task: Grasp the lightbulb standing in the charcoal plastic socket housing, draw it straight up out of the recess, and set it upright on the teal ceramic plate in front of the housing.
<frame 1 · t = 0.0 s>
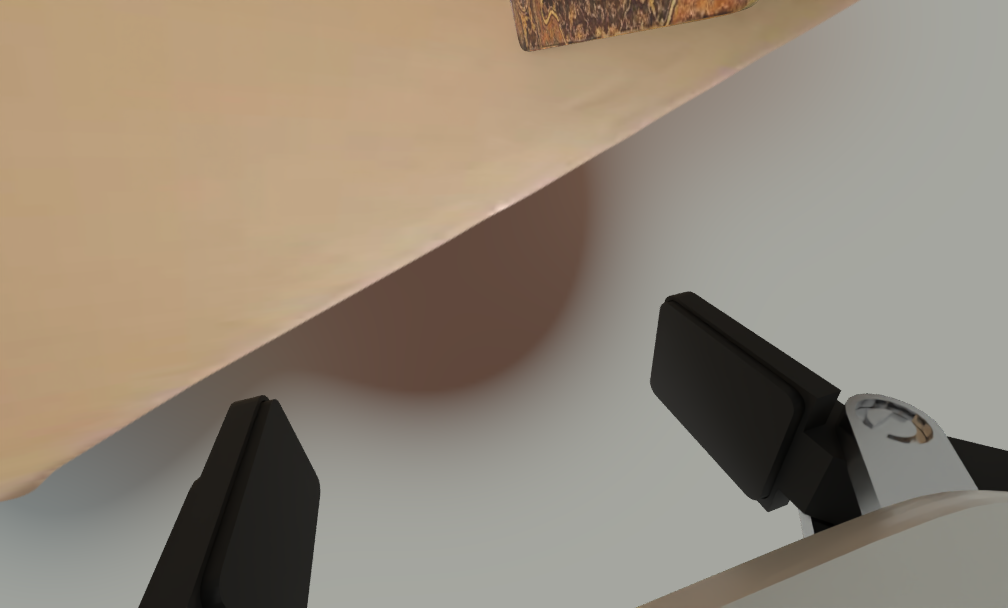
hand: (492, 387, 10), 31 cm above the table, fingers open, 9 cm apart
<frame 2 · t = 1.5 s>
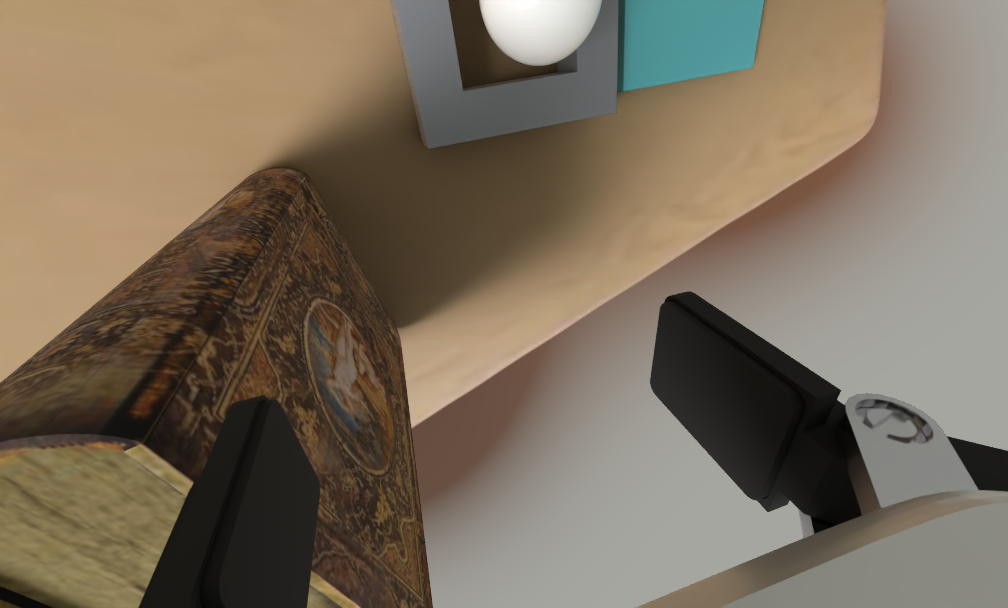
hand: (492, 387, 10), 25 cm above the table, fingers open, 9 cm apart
socket housing: (498, 14, 27), on the table
lightbulb: (498, 14, 27), resting in socket housing
book: (323, 269, 32), on the table
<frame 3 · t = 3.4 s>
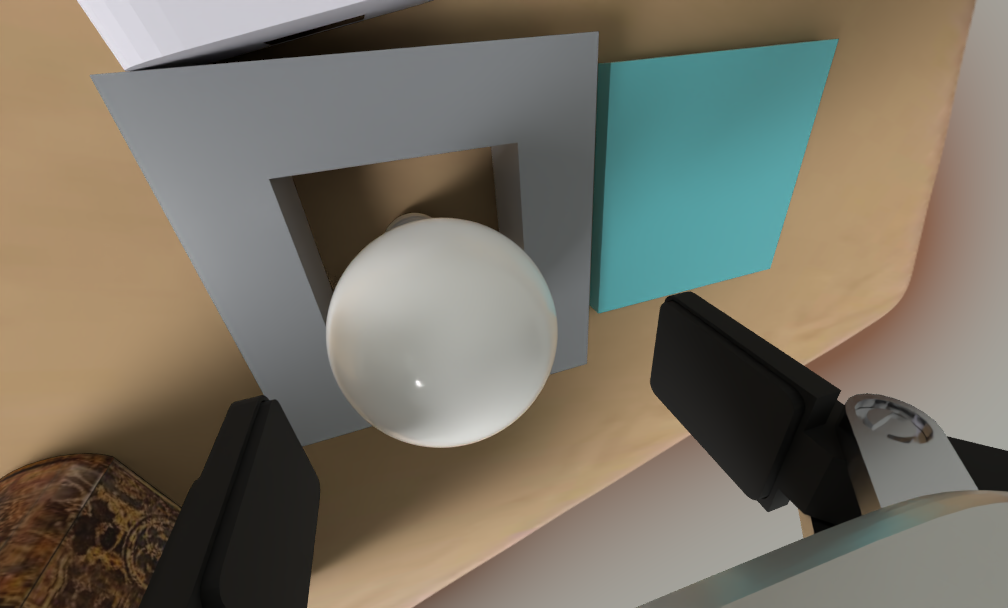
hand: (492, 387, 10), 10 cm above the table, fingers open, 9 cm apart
socket housing: (413, 237, 18), on the table
lightbulb: (412, 236, 18), resting in socket housing
book: (161, 547, 22), on the table
plate: (694, 183, 21), on the table
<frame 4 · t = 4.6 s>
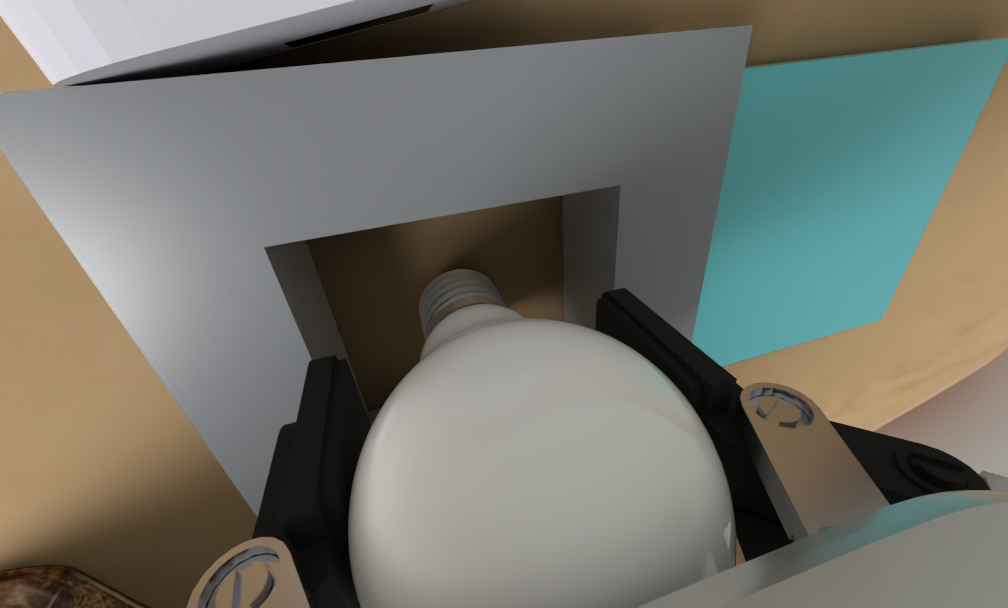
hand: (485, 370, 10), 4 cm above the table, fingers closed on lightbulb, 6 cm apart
socket housing: (456, 296, 14), on the table
lightbulb: (455, 293, 14), resting in socket housing, touching gripper
plate: (804, 221, 17), on the table
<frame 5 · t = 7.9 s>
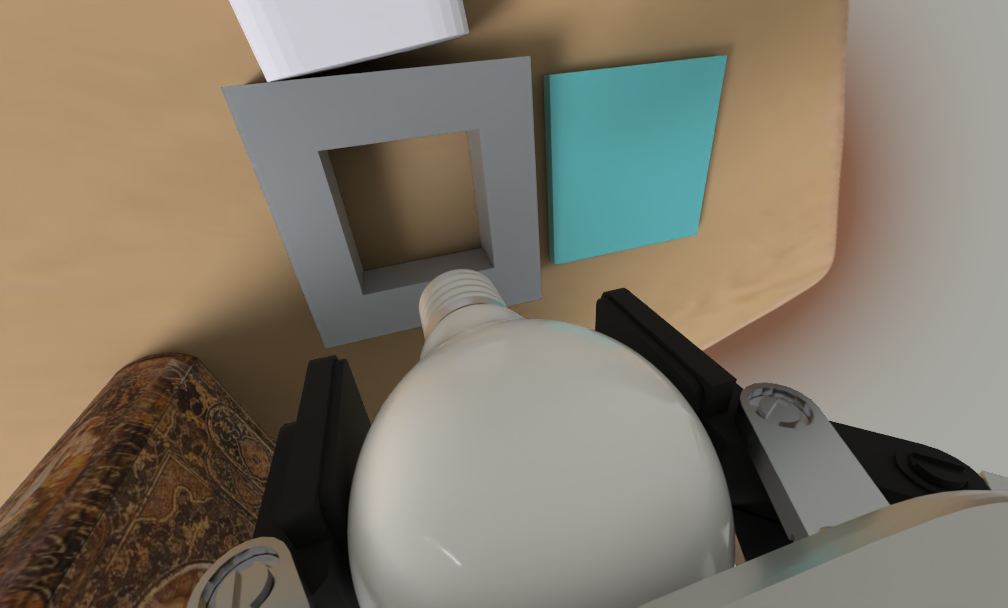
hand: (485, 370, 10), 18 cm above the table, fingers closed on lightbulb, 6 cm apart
socket housing: (412, 200, 25), on the table
lightbulb: (454, 294, 14), point 13 cm above the table, touching gripper
book: (223, 438, 29), on the table
plate: (627, 164, 28), on the table
when the fingers open (6 cm above the table, at t = 11.5 s): lightbulb stays where it is, resting on plate.
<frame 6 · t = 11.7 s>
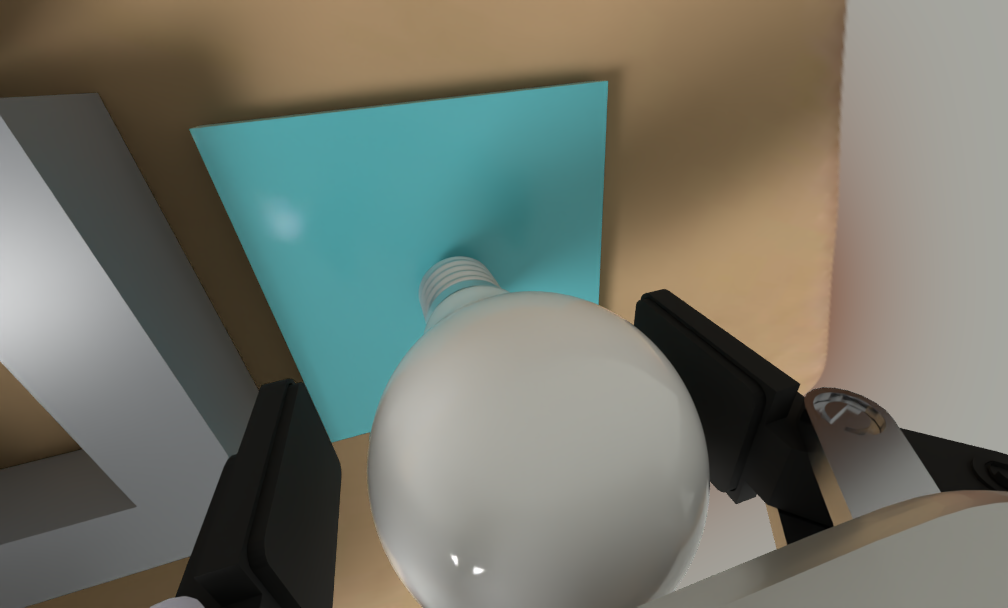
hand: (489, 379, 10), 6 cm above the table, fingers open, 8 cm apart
lightbulb: (452, 281, 15), point 1 cm above the table, touching plate
plate: (447, 273, 15), on the table
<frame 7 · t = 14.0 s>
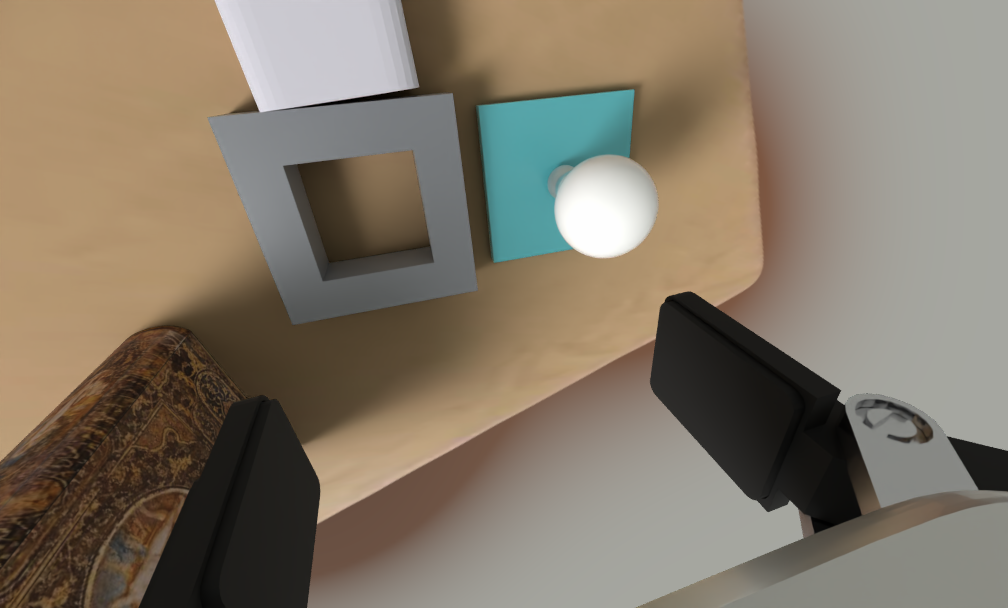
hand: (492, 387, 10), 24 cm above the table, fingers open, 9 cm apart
socket housing: (368, 205, 30), on the table
lightbulb: (559, 180, 32), point 1 cm above the table, touching plate
book: (212, 402, 35), on the table
plate: (555, 178, 33), on the table
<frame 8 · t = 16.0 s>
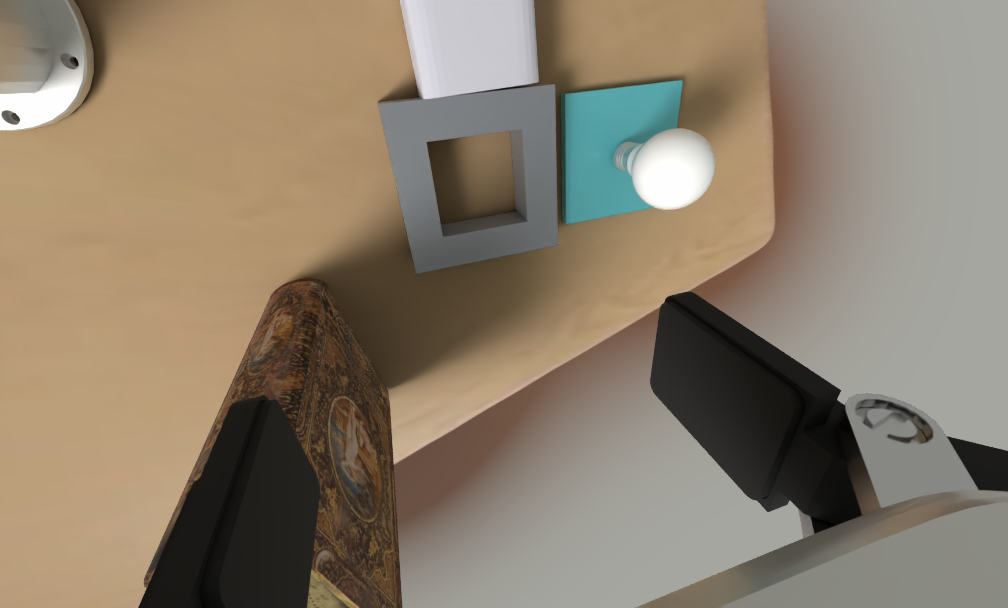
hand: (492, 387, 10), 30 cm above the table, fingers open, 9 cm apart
socket housing: (472, 176, 37), on the table
lightbulb: (621, 154, 40), point 1 cm above the table, touching plate
book: (332, 346, 42), on the table
plate: (616, 154, 40), on the table
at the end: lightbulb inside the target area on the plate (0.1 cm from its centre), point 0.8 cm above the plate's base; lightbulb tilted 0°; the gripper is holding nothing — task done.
